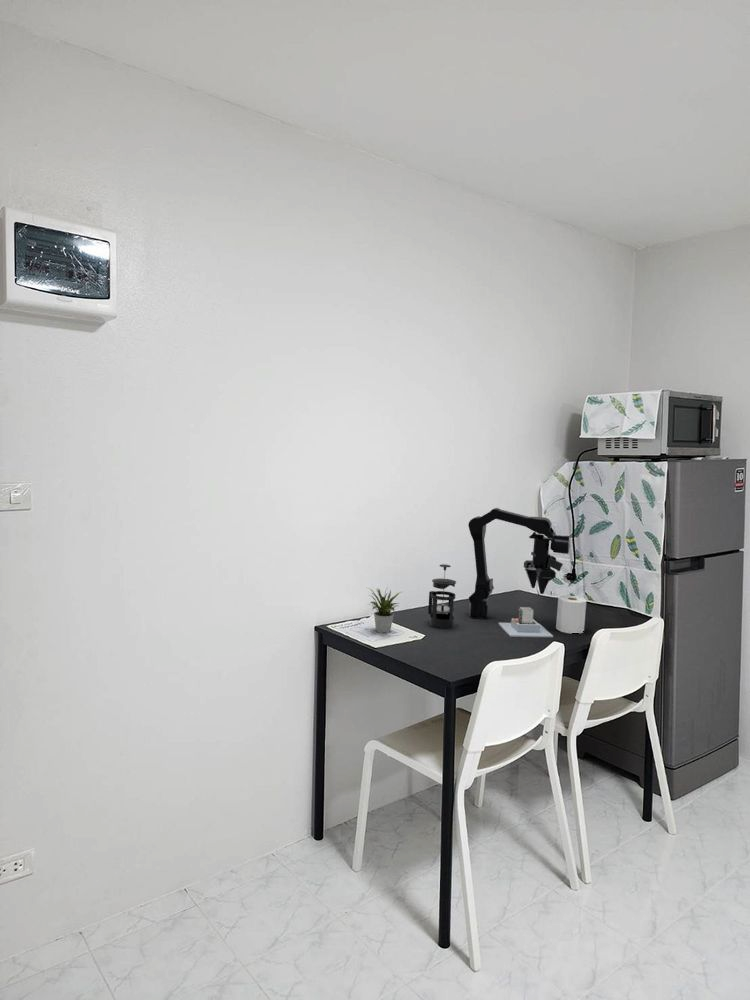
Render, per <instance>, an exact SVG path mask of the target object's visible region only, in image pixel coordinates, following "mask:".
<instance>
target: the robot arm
mask: <svg viewBox="0 0 750 1000" xmlns="http://www.w3.org/2000/svg"><path fill="white" fill-rule="evenodd" d="M494 520H499V521H502V522H507V523H511V524H514V525H518V526H521V527H525V528H528V529H529V530H531V531H533V532H532V534H530V535H529V536H528V537H529V539H533V548H532V549H533V550H532V551H531V554H530V555H531V556H532V560H529V559H528V560H525V561H524V562H523V568H524V570H525V573H526V575H527V579H528V580H529V583H530V587H531V588H532V589H535V588H536V584H537V585H538V586H537V587H538V591H539V593H540V595H544V593H545V592H546V591H545V590H546V588H547V586H548V584H549V582H551V581H552V580H554V579H556V576H557V571H558V572H560V571H561V569H562V567H563V565H564V564H563V563H562V562H560V561H558V560H557V558H556V557H555V556H553V555H551V554H550V553H549V552H550V550H551V551H552V553H555V554H556V553H557V554H564V555H565V554H566V555H569V554H570V548H571V545H570V544H571V543H570V538H571V537H570V535H560V534H559V535H558V534H556V532H555V530H554V529H553V526H552V522H551V520H550V519H549V518H547V517H542V516H541V517H540V516H527V515H524V514H519V513H516V512H512V511H508V510H504V509H502V508H499V507H494V508H492V509H491V510H490V511H489V512H487V513H484V514H483V515H481V516H479V515H478V516H475V517H473V518H471V519H470V520H469V522H468V524H467V525H468V530H469V534H470V537H471V538H472V541H473V549H474V550H473V551H474V557H475V558H474V560H475V569H476V571H475V572H476V580H475V587H474V592H473V593H472V594H471V595H470V596H469V597H468V601H469V603H468V612H467V615H468V616H469V617H470V619H487V618H488V617H487V616H488V609H489V608H488V607H489V605H488V604H487V601H486V600H487V599H488V598H489V597H490V595H491V594H492V593H493V590H494V589H495V587H494V579H493V577H492V578H490V577H489V574H488V565H487V553H486V545H485V543H486V542H485V537H486V531H487V525H488V524H490V523H492V521H494ZM555 570H556V571H555Z"/></svg>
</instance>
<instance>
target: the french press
mask: <svg viewBox="0 0 750 1000" xmlns="http://www.w3.org/2000/svg"><path fill="white" fill-rule="evenodd" d="M439 567H441V568H443V571H444V572H443V578H433V579H432V587H433V588H435V589H440V590H437V591H436V590H435V591H434V590H431V591H430V590H429V591H428V593H429V594H428V605H427V606H428V609H427V611H428V612H427V613H428V615H429V624H428V625H429V626H430V627H432V628H435V629H441V630H442V629H443V630H447V629H452V628H454V627H455V624H454V623H455V621H454V620H455V617H454V610H455V609H454V601H455V599H456V594H455V593H453V592H450V591H445V589H447V588H449V586H450V587H453V588H455V586H456V584H457V581H456V580H454V579H449V578H446V571H447V568H450V567H451V565H449V564H446V563H445V564H444V563H443V564H439ZM439 595H441V596H439ZM438 600H439V601H442V603H441V604H442V605H438ZM444 601H448V605H444Z"/></svg>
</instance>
